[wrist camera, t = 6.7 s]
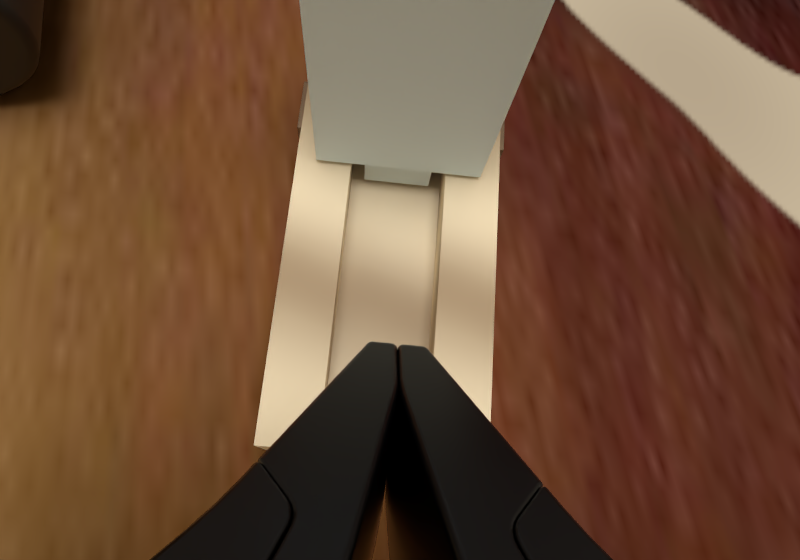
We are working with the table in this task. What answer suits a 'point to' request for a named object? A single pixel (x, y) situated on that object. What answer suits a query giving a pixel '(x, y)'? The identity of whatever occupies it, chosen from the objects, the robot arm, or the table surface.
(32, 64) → the end cap
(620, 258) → the table surface
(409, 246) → the beam
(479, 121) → the block
